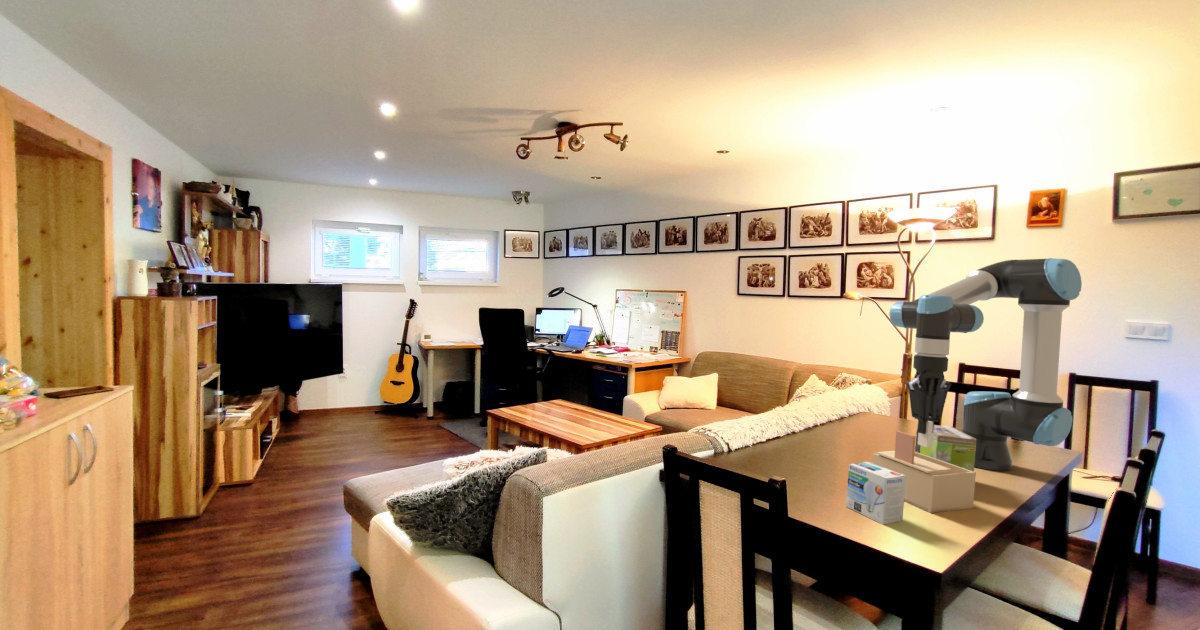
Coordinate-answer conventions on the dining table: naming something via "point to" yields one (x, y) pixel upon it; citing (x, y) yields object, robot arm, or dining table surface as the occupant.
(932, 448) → the tea box
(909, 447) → the flap
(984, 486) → the dining table surface
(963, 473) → the carton
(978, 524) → the dining table surface
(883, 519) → the light bulb box
